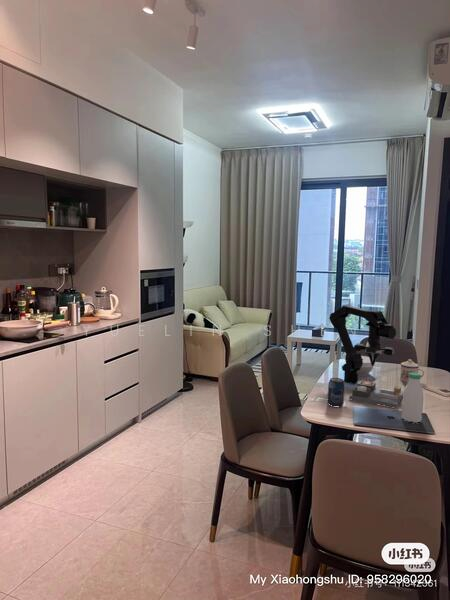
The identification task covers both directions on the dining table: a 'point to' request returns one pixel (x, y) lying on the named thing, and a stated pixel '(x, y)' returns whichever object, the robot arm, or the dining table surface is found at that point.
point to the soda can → (336, 392)
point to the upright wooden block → (397, 391)
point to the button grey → (362, 388)
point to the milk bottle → (413, 399)
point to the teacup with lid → (408, 370)
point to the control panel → (375, 395)
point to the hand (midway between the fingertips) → (372, 365)
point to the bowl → (365, 366)
